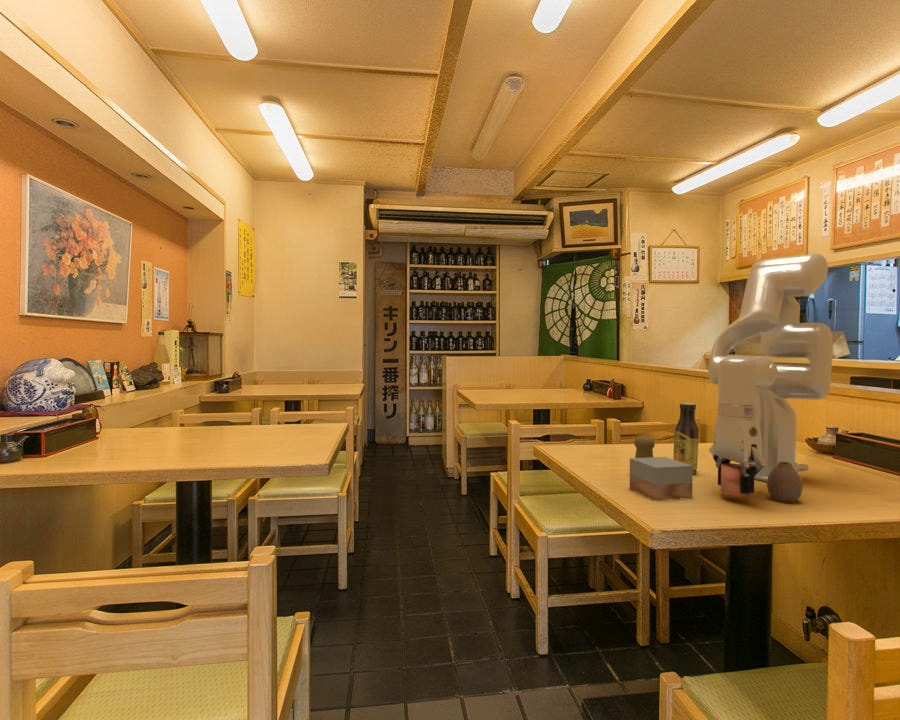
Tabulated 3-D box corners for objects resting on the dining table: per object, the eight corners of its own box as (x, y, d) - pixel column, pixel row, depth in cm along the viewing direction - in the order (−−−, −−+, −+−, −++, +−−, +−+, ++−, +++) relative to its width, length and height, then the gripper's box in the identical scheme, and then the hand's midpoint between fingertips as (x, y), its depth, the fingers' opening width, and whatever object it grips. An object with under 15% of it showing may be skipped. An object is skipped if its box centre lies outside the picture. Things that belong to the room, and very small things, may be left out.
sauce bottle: (668, 470, 144) (669, 401, 144) (689, 470, 145) (690, 401, 145) (681, 476, 138) (682, 404, 137) (702, 475, 138) (704, 404, 138)
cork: (657, 479, 134) (658, 438, 133) (634, 478, 135) (634, 437, 135) (653, 474, 139) (654, 435, 139) (630, 473, 141) (631, 434, 140)
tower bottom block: (664, 488, 127) (665, 472, 127) (692, 499, 117) (692, 482, 117) (629, 490, 125) (629, 474, 125) (654, 502, 115) (654, 485, 115)
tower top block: (664, 472, 127) (664, 456, 127) (692, 482, 117) (692, 465, 117) (629, 474, 125) (629, 458, 124) (655, 485, 115) (655, 467, 115)
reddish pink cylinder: (735, 487, 120) (736, 462, 119) (756, 494, 114) (757, 468, 113) (714, 489, 118) (715, 464, 118) (734, 497, 112) (735, 470, 112)
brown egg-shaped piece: (803, 506, 112) (804, 467, 111) (766, 501, 115) (767, 463, 115) (801, 498, 117) (802, 461, 117) (766, 494, 121) (767, 458, 121)
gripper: (782, 416, 108) (781, 498, 108) (721, 406, 124) (720, 477, 125) (753, 417, 106) (752, 501, 107) (695, 407, 123) (695, 480, 123)
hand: (735, 488), depth 116 cm, fingers closed on reddish pink cylinder, 6 cm apart
